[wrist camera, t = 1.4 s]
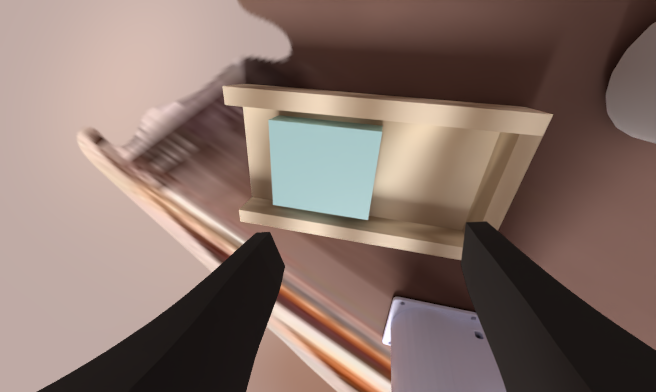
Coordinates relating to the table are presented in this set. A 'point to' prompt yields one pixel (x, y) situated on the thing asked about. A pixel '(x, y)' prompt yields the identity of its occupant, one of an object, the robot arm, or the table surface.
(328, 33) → the table surface
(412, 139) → the tray
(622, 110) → the can
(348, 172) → the pale teal square slab
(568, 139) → the table surface
